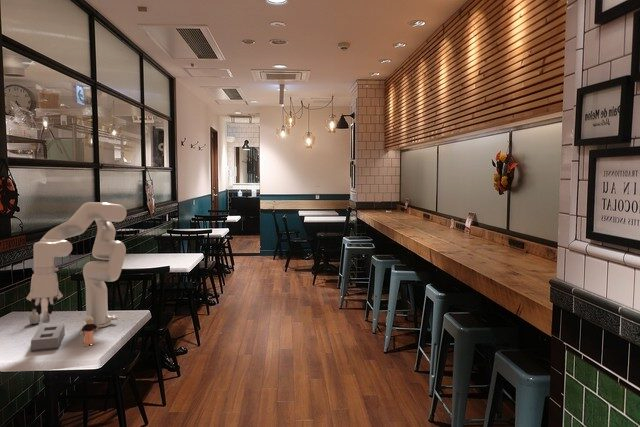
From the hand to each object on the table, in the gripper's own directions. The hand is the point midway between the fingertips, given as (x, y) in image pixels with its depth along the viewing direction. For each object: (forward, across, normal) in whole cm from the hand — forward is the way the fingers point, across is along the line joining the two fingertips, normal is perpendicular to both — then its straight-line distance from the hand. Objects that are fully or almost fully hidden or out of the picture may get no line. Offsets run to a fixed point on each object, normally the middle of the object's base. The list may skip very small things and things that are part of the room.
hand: (45, 313), depth 209 cm
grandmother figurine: (+15, -17, +2) cm, 23 cm away
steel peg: (+4, 0, 0) cm, 4 cm away
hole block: (+15, 0, -6) cm, 16 cm away
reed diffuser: (+15, +12, -40) cm, 44 cm away
